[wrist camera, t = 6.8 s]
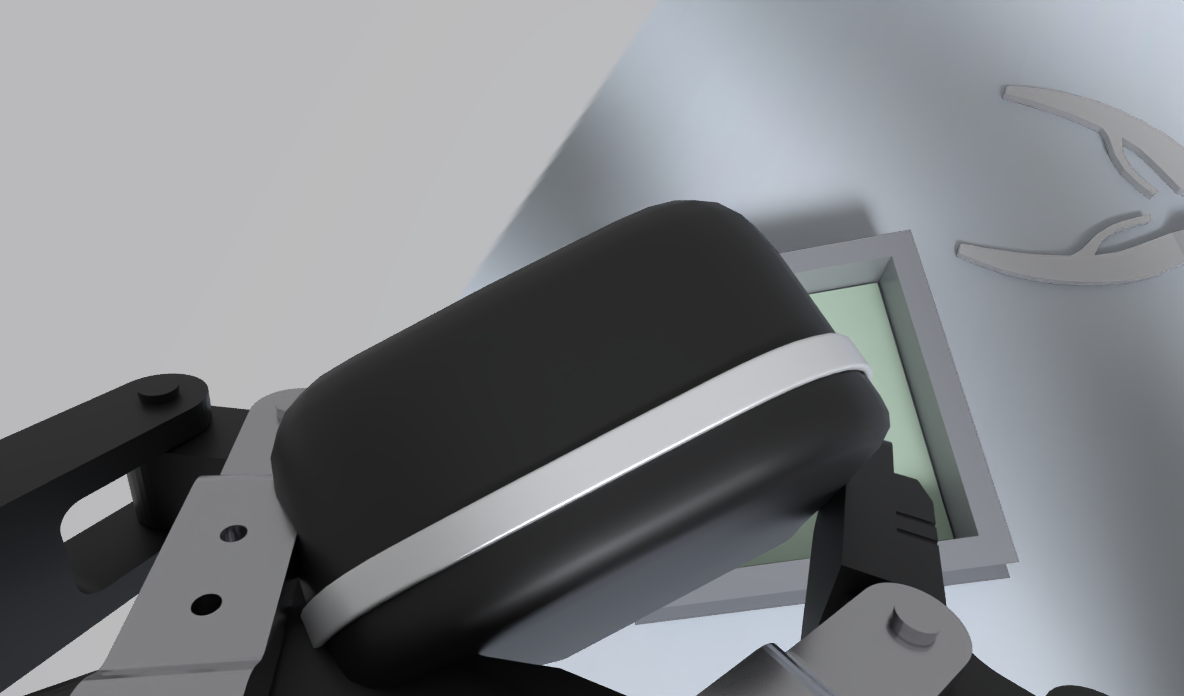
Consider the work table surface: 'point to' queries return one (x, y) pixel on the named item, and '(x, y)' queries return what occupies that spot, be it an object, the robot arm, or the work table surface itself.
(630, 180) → the work table surface
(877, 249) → the tray
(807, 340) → the battery charger
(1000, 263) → the pliers
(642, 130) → the work table surface
